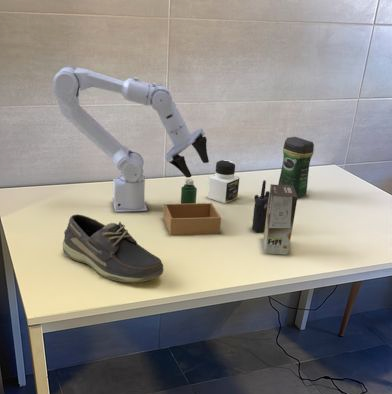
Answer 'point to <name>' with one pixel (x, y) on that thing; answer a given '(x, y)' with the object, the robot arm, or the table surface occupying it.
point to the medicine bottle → (224, 182)
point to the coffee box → (279, 219)
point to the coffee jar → (296, 164)
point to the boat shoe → (109, 250)
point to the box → (192, 219)
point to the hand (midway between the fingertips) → (197, 169)
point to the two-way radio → (260, 210)
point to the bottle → (188, 192)
